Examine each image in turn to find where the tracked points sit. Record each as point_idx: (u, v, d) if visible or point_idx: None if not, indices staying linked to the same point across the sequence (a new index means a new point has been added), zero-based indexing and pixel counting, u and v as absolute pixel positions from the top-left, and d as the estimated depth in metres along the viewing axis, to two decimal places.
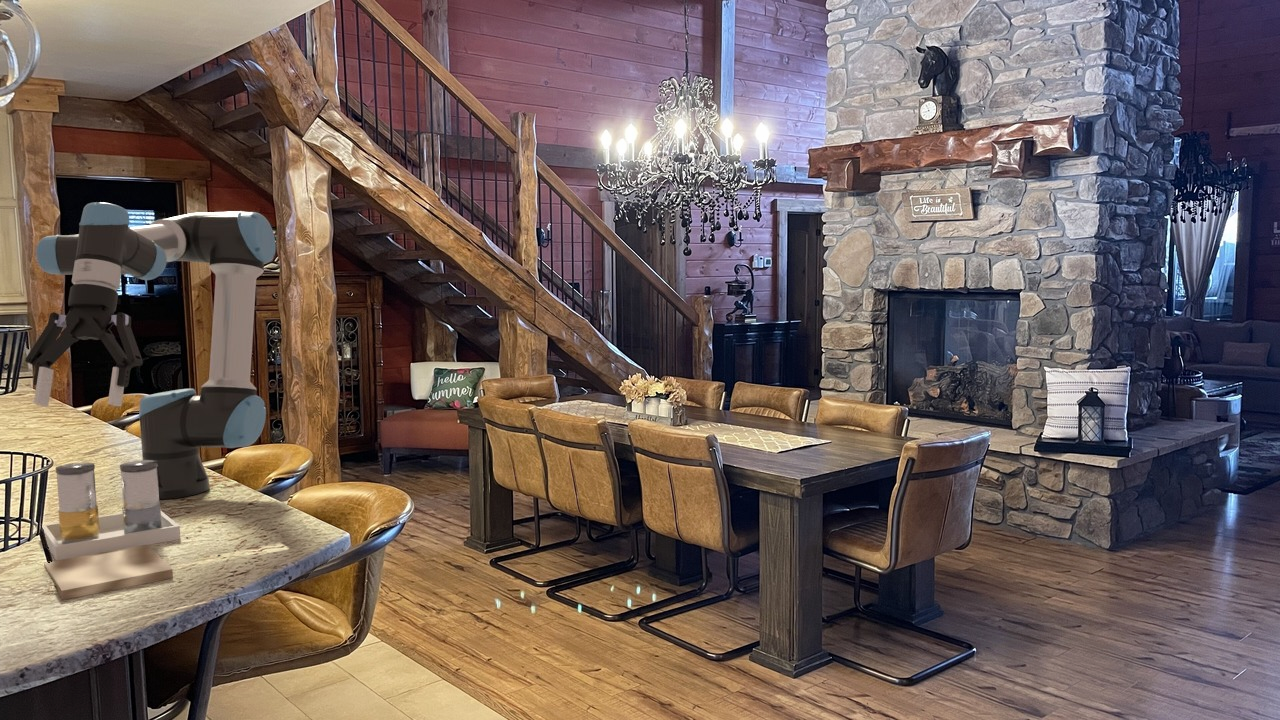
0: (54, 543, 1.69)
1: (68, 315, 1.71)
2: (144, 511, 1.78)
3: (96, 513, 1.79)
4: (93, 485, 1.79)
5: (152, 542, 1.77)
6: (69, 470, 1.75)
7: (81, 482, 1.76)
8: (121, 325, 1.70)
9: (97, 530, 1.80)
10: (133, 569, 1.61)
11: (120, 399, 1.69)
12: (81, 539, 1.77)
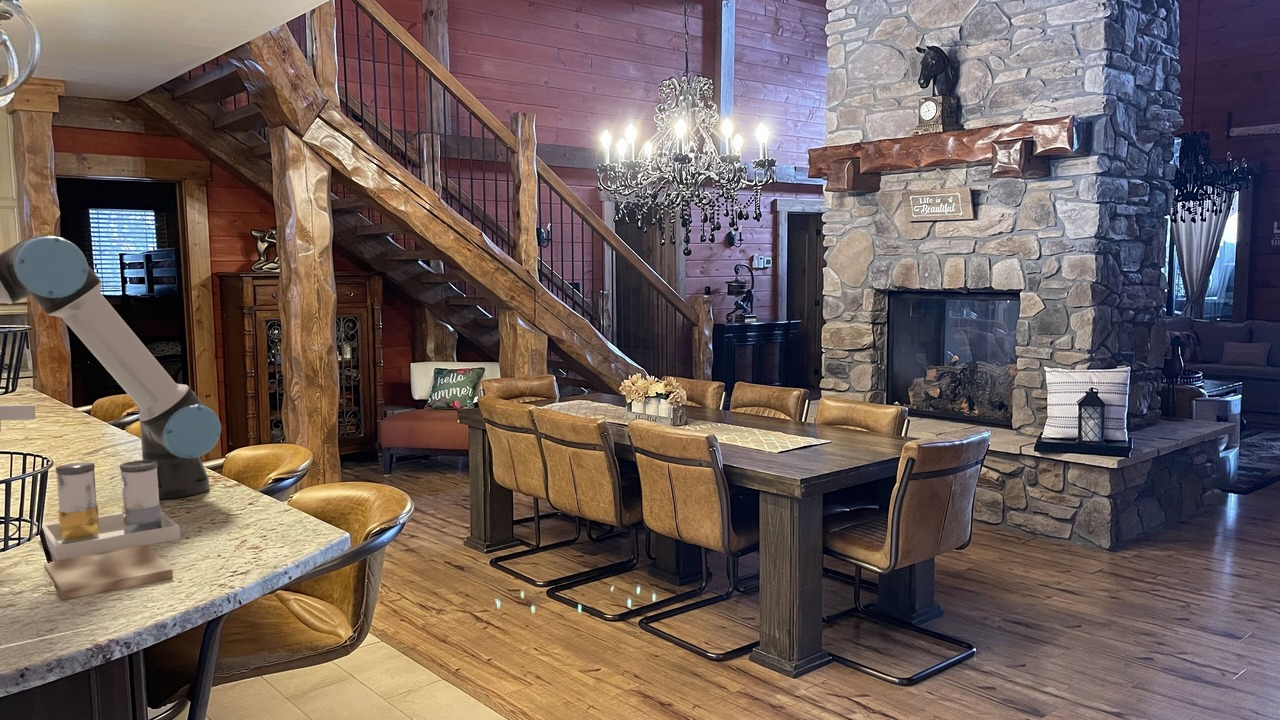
0: (54, 543, 1.69)
1: None
2: (144, 511, 1.78)
3: (96, 513, 1.79)
4: (93, 485, 1.79)
5: (152, 542, 1.77)
6: (69, 470, 1.75)
7: (81, 482, 1.76)
8: None
9: (97, 530, 1.80)
10: (133, 569, 1.61)
11: None
12: (81, 539, 1.77)
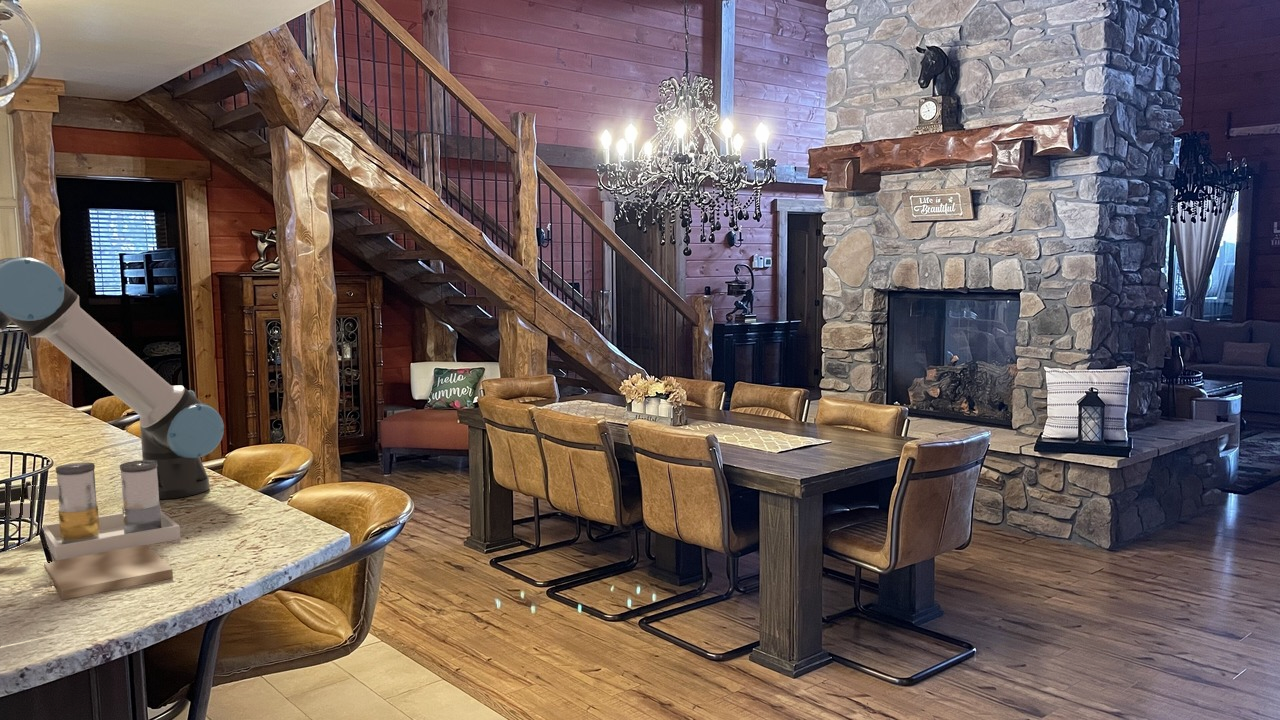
0: (54, 543, 1.69)
1: None
2: (144, 511, 1.78)
3: (96, 513, 1.79)
4: (93, 485, 1.79)
5: (152, 542, 1.77)
6: (69, 470, 1.75)
7: (81, 482, 1.76)
8: None
9: (97, 530, 1.80)
10: (133, 569, 1.61)
11: (24, 506, 1.70)
12: (81, 539, 1.77)
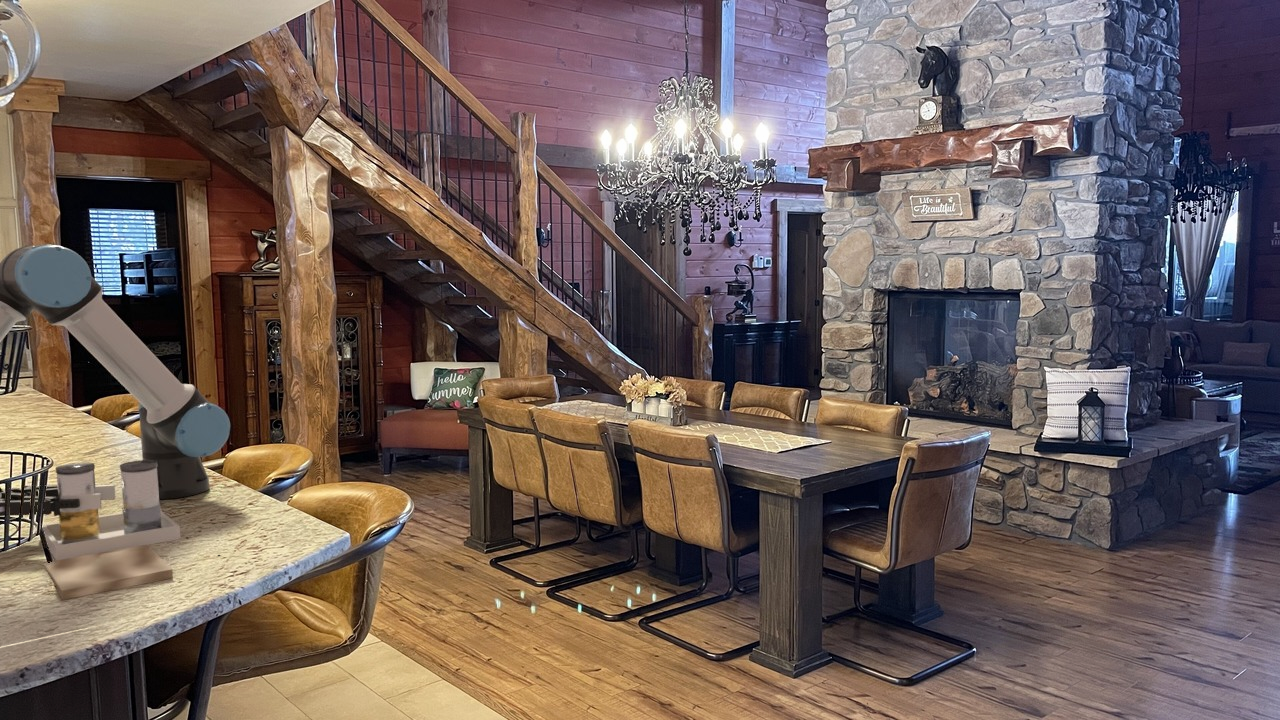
0: (54, 543, 1.69)
1: None
2: (144, 511, 1.78)
3: (96, 513, 1.79)
4: (93, 485, 1.79)
5: (152, 542, 1.77)
6: (69, 470, 1.75)
7: (81, 482, 1.76)
8: None
9: (97, 530, 1.80)
10: (133, 569, 1.61)
11: (92, 497, 1.75)
12: (81, 539, 1.77)
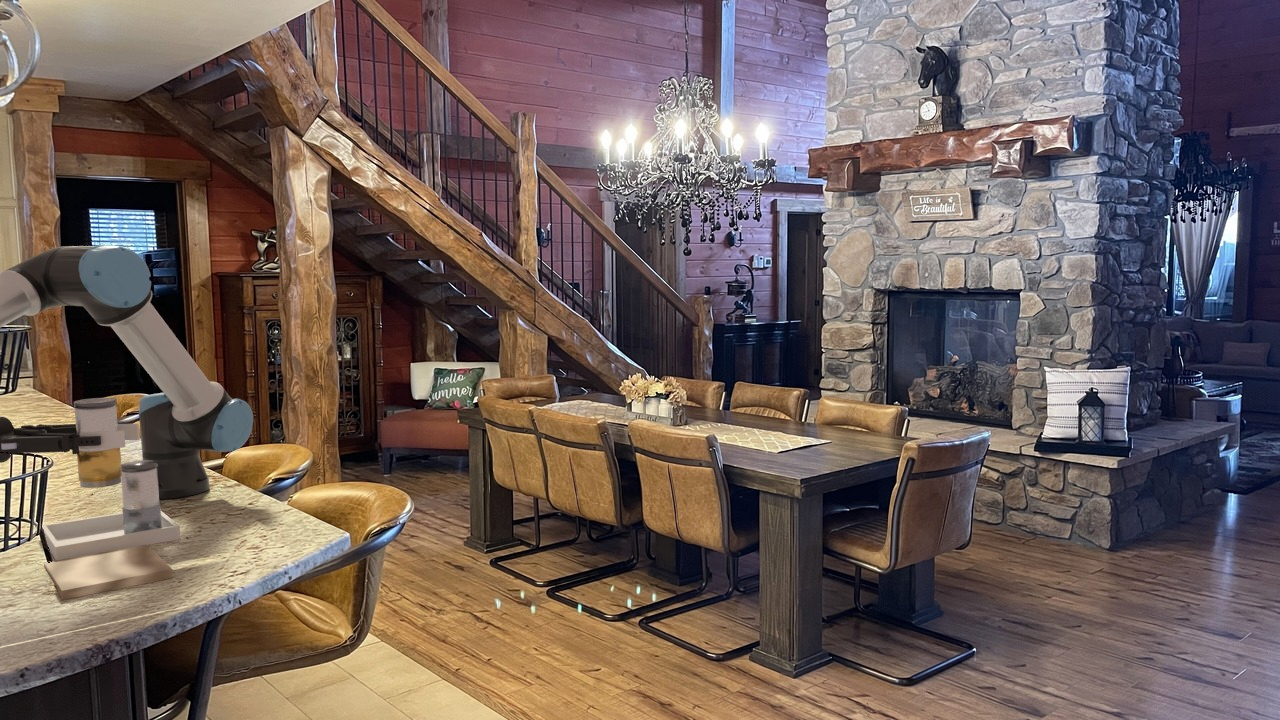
0: (54, 543, 1.69)
1: None
2: (144, 511, 1.78)
3: (118, 453, 1.61)
4: (115, 422, 1.60)
5: (152, 542, 1.77)
6: (89, 404, 1.57)
7: (103, 418, 1.58)
8: (20, 452, 1.53)
9: (119, 473, 1.61)
10: (133, 569, 1.61)
11: (115, 434, 1.57)
12: (102, 482, 1.59)
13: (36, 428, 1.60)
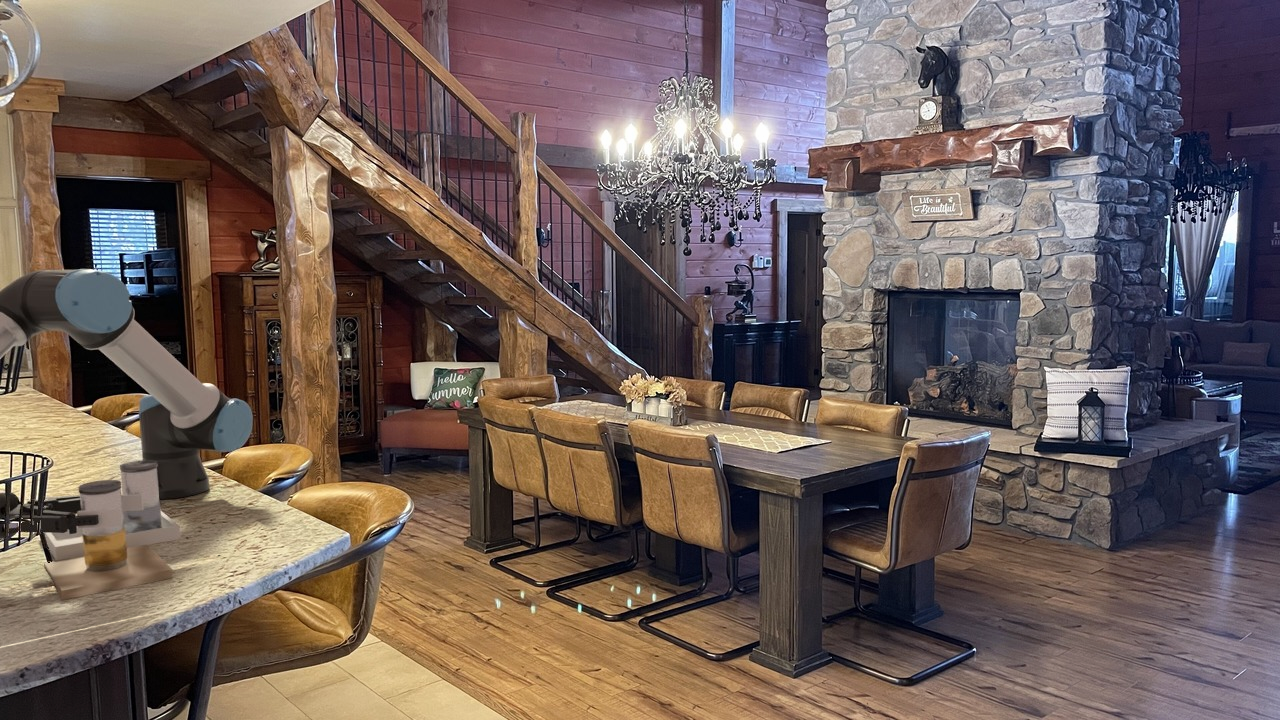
0: (54, 543, 1.69)
1: None
2: (144, 511, 1.78)
3: (124, 536, 1.62)
4: (120, 505, 1.62)
5: (152, 542, 1.77)
6: (94, 490, 1.58)
7: (107, 503, 1.59)
8: (21, 531, 1.54)
9: (125, 554, 1.63)
10: (133, 569, 1.61)
11: (112, 513, 1.57)
12: (108, 565, 1.60)
13: None
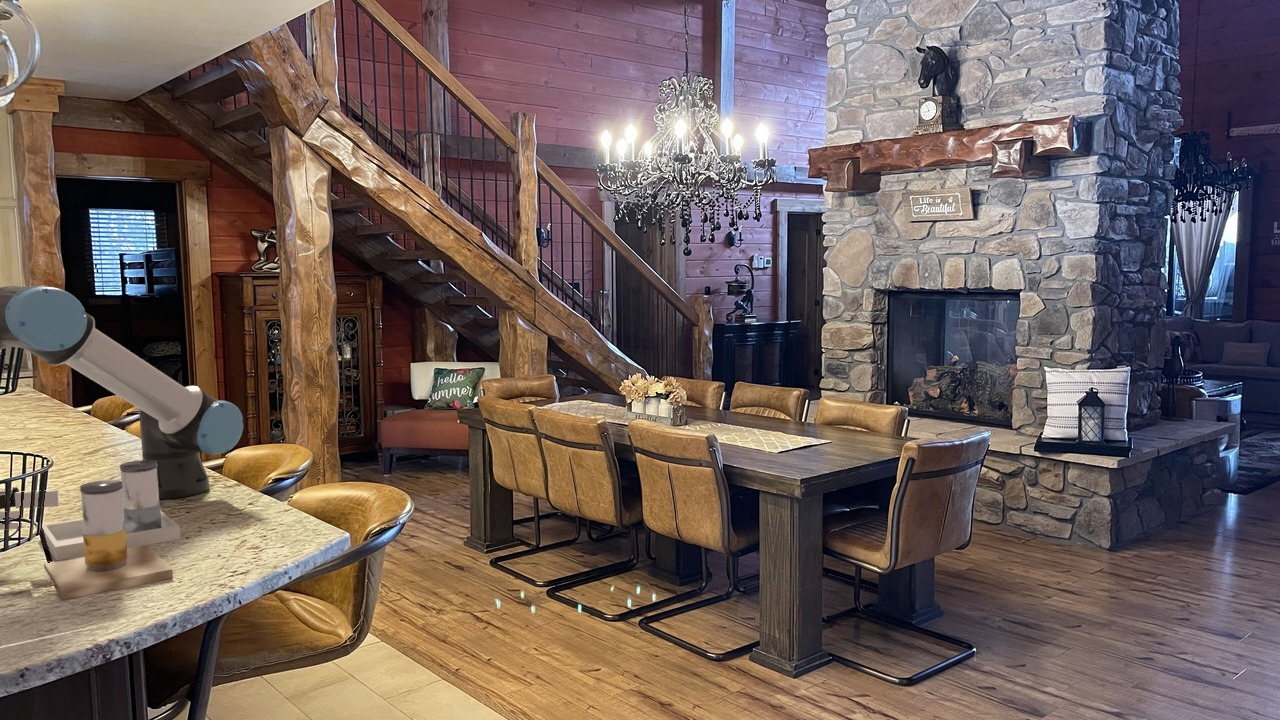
0: (54, 543, 1.69)
1: None
2: (144, 511, 1.78)
3: (124, 536, 1.63)
4: (121, 505, 1.62)
5: (152, 542, 1.77)
6: (95, 489, 1.58)
7: (109, 502, 1.60)
8: None
9: (125, 555, 1.63)
10: (133, 569, 1.61)
11: (11, 515, 1.53)
12: (108, 565, 1.60)
13: None
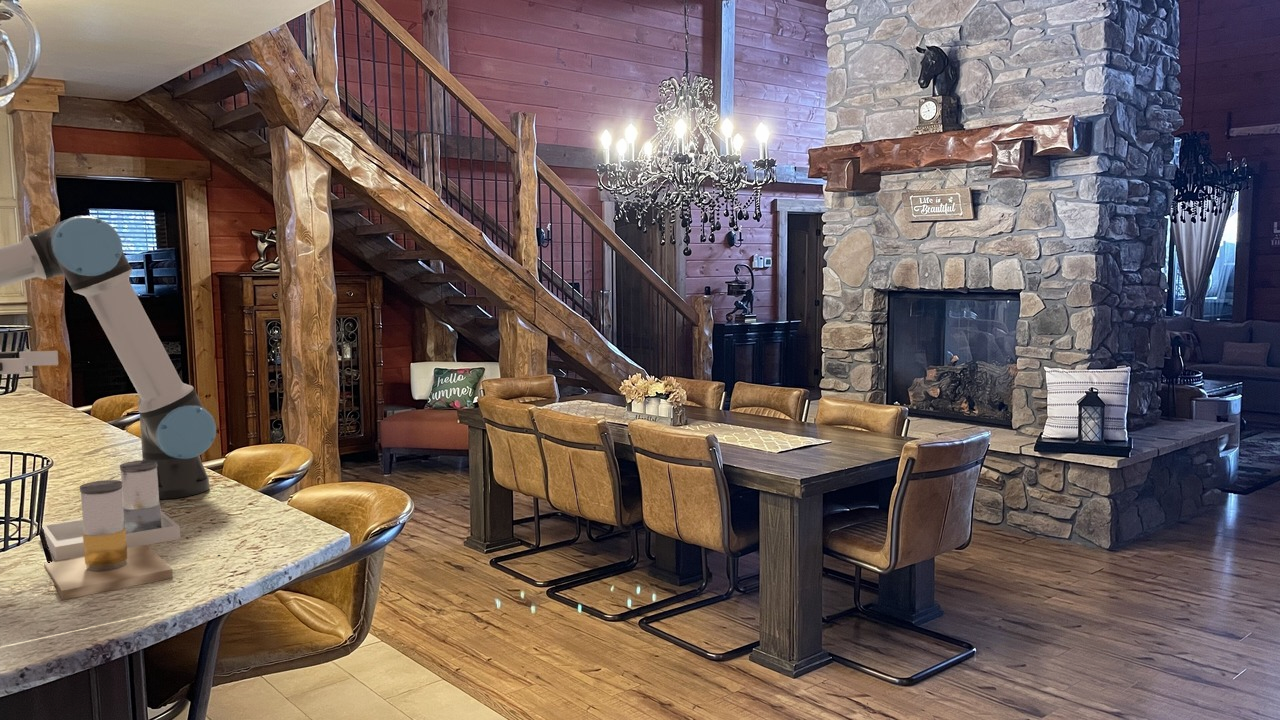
0: (54, 543, 1.69)
1: None
2: (144, 511, 1.78)
3: (124, 536, 1.63)
4: (121, 505, 1.62)
5: (152, 542, 1.77)
6: (95, 489, 1.58)
7: (108, 502, 1.60)
8: None
9: (125, 555, 1.63)
10: (133, 569, 1.61)
11: (15, 361, 1.72)
12: (108, 565, 1.60)
13: None
